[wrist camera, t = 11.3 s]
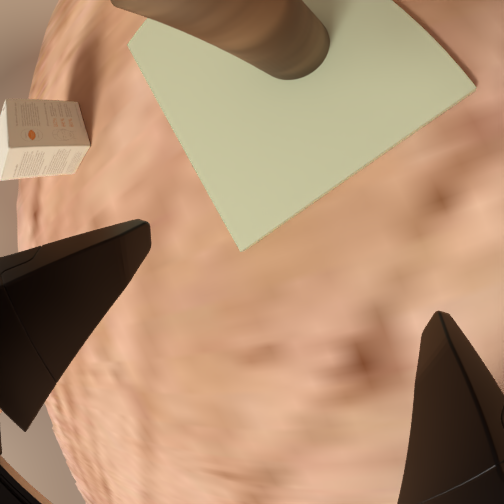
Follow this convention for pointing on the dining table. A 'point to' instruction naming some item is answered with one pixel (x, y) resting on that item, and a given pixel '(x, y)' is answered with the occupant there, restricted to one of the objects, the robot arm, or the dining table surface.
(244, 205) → the placemat
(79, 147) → the small box
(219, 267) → the dining table surface
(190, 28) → the pepper mill
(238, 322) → the dining table surface
